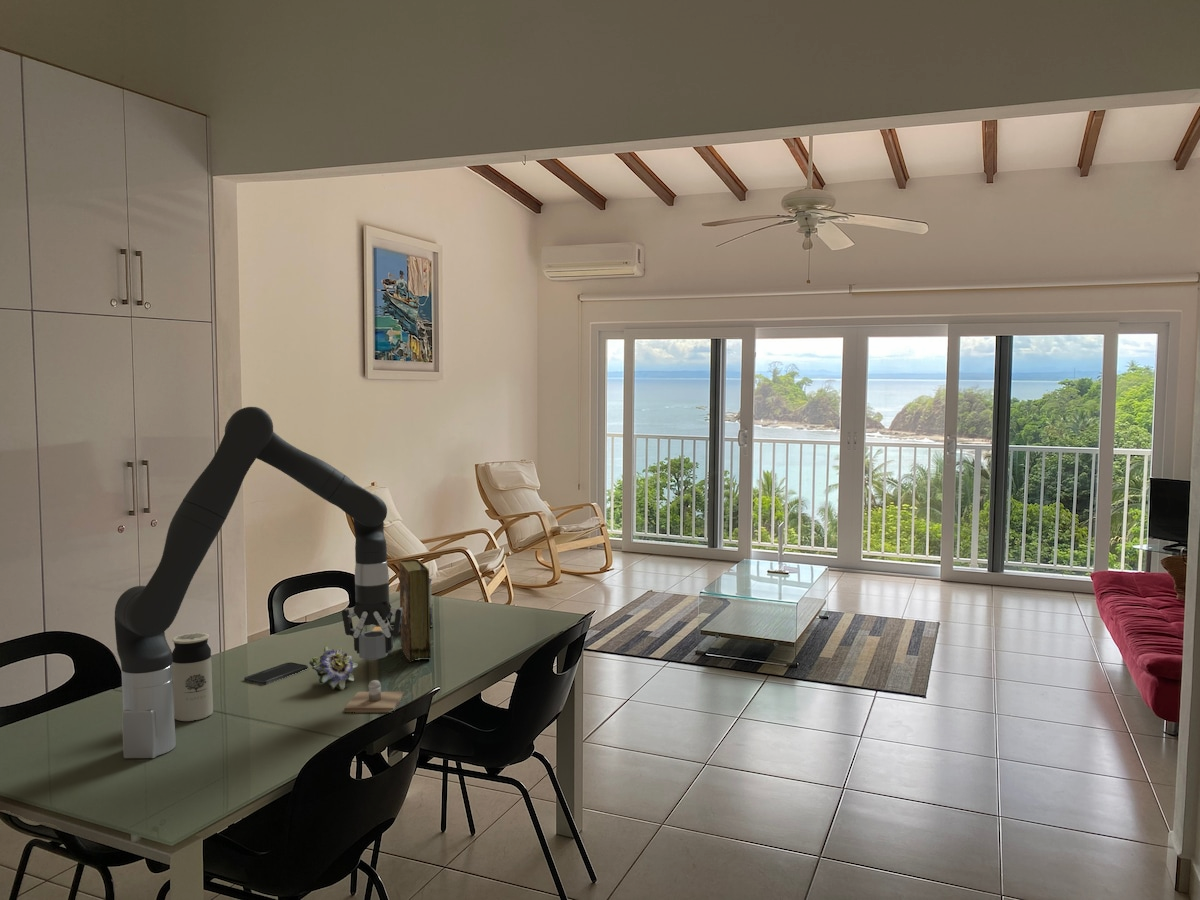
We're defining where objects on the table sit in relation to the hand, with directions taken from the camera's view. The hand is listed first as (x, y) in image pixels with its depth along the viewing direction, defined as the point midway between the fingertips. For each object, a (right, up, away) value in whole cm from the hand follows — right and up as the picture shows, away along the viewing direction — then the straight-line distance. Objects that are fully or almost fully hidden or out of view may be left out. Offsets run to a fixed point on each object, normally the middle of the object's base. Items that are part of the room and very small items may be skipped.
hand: (373, 652), depth 205 cm
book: (+1, -10, +40) cm, 41 cm away
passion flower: (-14, -12, +14) cm, 23 cm away
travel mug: (-39, -13, -6) cm, 41 cm away
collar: (0, -1, +2) cm, 2 cm away
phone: (-31, -11, +23) cm, 40 cm away
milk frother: (-8, -8, +69) cm, 70 cm away
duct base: (0, -12, +1) cm, 12 cm away
